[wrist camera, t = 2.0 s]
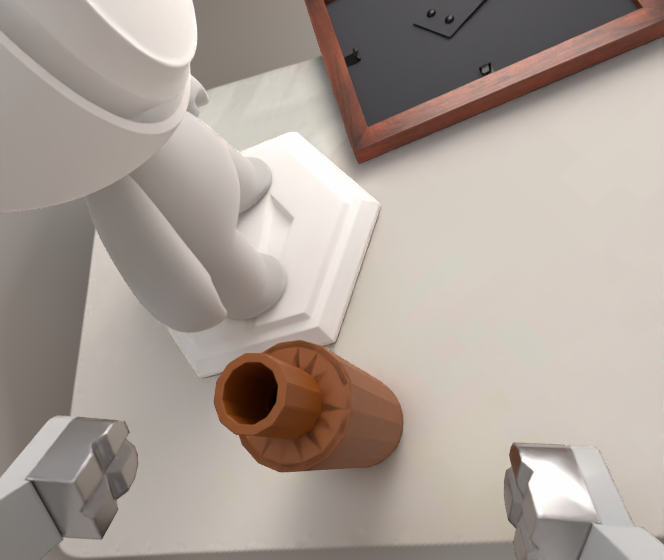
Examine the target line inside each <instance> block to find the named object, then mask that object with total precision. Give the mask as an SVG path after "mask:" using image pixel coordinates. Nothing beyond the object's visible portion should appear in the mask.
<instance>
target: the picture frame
mask: <svg viewBox="0 0 664 560" xmlns="http://www.w3.org/2000/svg"><path fill="white" fill-rule="evenodd" d="M305 4H306V6H307V9H308V13H309V16H310V19H311V22H312V25H313V28H314V32H315V35H316V38H317V41H318V44H319V47H320V50H321V53H322V56H323V60H324V63H325V66H326V69H327V72H328V75H329V78H330V81H331V85H332V88H333V91H334V94H335V97H336V100H337V103H338V106H339V109H340V113H341V116H342V119H343V122H344V125H345V128H346V131H347V134H348V138H349V141H350V144H351V147H352V150H353V153H354V155H355V157H356V159H357V161H358V163H359V164H360V163H362V162H364V161H367V160H369V159H371V158H374V157H376V156H379V155H381V154H383V153H386V152H388V151H391V150H393V149H395V148H398V147H400V146H402V145H405V144H407V143H410V142H412V141H414V140H417V139H419V138H421V137H424V136H426V135H429V134H431V133H433V132H436V131H438V130H441V129H443V128H445V127H448V126H450V125H452V124H455V123H457V122H460V121H462V120H464V119H467V118H469V117H472V116H474V115H476V114H479V113H481V112H483V111H486V110H488V109H491V108H493V107H495V106H498V105H500V104H503V103H505V102H507V101H510V100H512V99H514V98H517V97H519V96H522V95H524V94H526V93H529V92H531V91H533V90H536V89H538V88H541V87H543V86H545V85H548V84H550V83H553V82H555V81H557V80H560V79H562V78H564V77H567V76H569V75H572V74H574V73H576V72H579V71H581V70H584V69H586V68H588V67H591V66H593V65H595V64H598V63H600V62H603V61H605V60H607V59H610V58H612V57H615V56H617V55H619V54H622V53H624V52H626V51H629V50H631V49H634V48H636V47H638V46H641V45H643V44H645V43H648V42H650V41H653V40H655V39H657V38H660V37H662V36H664V0H305Z"/></svg>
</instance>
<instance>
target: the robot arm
mask: <svg viewBox="0 0 664 560" xmlns="http://www.w3.org/2000/svg"><path fill="white" fill-rule="evenodd" d="M128 434H129V429H128V427H127V425H126V423H125V421H119V420H109V419H97V418H86V417H71V416H55V417H53V418H51V419H50V420H48V421H47V423H46V424H45V425H44V426H43V427H42V429H41V430H40V431H39V432H38V433H37V434H36V436H35V437H34V438H33V439H32V441H31V442H30V443H29V444H28V445H27V446H26V448H25V449H24V450H23V451H22V452H21V454H20V455H19V456H18V457H17V459H16V460H15V461H14V462H13V463H12V464H11V466H10V467H9V468H8V469H7V470H6V472H5V473H4V474H3V475H2V476H1V478H0V560H41V559H42V558H43V557H44V556H45V555H46V554H47V553H48V552H50V551H51V550H52V549H53V548H54V547H55V546H57V545H58V544H59V543H60V542H61V541H62V540H63V538H62V537H66V538H82V539H99V540H102V538H103V536H104V535H105V533H106V531H107V529H108V527H109V525H110V524H111V522H112V520H113V518H114V516H115V515H116V513H117V511H118V506H117V499H118V498H119V497H121V496H122V495H123V494H125V493H126V492H127V491H129V489H130V487H131V485H132V483H133V481H134V479H135V476H136V472H137V468H138V454H137V451H136V448H135V446H134V445H133V444H131V443H130V442H129V441H128V440H127V439H126V437H127V436H128ZM509 457H510V461H511V465H512V466H511V467H510V468H509V469H507V470H506V473H505V479H504V500H505V508H506V513H507V517H508V520H509V522H510V523H511V524H512V525H513V526H514V527H515V528H516V531H515V535H514V540H513V545H514V550H515V554H516V558H517V560H664V544H662V543H661V542H660V541H659V540H658V539H657V538H655V537H654V536H653V535H652V534H651V533H650V532H649V531H647V530H646V529H645V528H642V527H635V525H634V523H633V521H632V519H631V517H630V515H629V512H628V510H627V508H626V506H625V504H624V502H623V500H622V497H621V495H620V493H619V491H618V489H617V487H616V485H615V482H614V480H613V478H612V476H611V474H610V472H609V469H608V467H607V465H606V463H605V461H604V459H603V457H602V454H601V452H600V451H599V450H598V449H597V448H596V447H589V446H571V445H568V446H566V445H558V444H536V443H513V445H512V446H511V449H510V454H509Z"/></svg>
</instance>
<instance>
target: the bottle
mask: <svg viewBox="0 0 664 560" xmlns="http://www.w3.org/2000/svg"><path fill="white" fill-rule="evenodd" d="M214 405H215V408H216V411H217V414H218V417H219V420H220V422H221V423H222V424H223V425H224V426H226V427H227V428H228V429H229V430H230V431H231V432H233V433H234V434H236V435H239V437H240V440H241V443H242V445H243V446H244V447H245V449H246V450H247V451H248V452H249V453H250V454H251V455H252V457H253V458H254V459H255V460H256V461H257V462H258V463H259V464H262V465H264V466H266V467H269V468H271V469H273V470H276V471H278V472H296V471H312V470H328V469H344V468H359V467H370V466H373V465H376V464H378V463H380V462H382V461H383V460H385V459H386V458H387V457H388V456H389V455H390V454H391V453H392V452H393V451H394V449H395V448H396V446H397V444H398V442H399V440H400V437H401V434H402V429H403V415H402V410H401V407H400V404H399V402H398V400H397V398H396V396H395V395H394V394H393V392H392V391H391V390H390V389H389V388H388V387H387V386H385V385H384V384H383V383H382V382H380V381H379V380H377V379H376V378H374V377H372V376H371V375H369V374H368V373H366V372H364V371H363V370H361V369H359V368H358V367H356V366H354V365H353V364H351V363H349V362H348V361H346V360H344V359H343V358H341V357H339V356H338V355H336V354H334V353H333V352H331V351H329V350H328V349H326V348H324V347H323V346H321V345H317V344H314V343H310V342H307V341H303V340H295V341H288V342H281V343H277V344H276V345H274V346H272V347H271V348H269V349H267V350H266V351H264V352H262V353H245V354H243V355H241V356H240V357H238V358H236V359H235V360H233V361H231V362H230V363H229V364H227V366H226V367H225V369H224V371H223V372H222V374H221V375H220V377H219V378H218V380H217V383H216V389H215V396H214Z"/></svg>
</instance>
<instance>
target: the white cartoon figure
mask: <svg viewBox="0 0 664 560" xmlns="http://www.w3.org/2000/svg"><path fill="white" fill-rule="evenodd" d="M196 46H197V25H196V17H195V11H194V6H193V2H192V0H0V213H5V212H17V211H26V210H33V209H39V208H44V207H49V206H53V205H57V204H61V203H65V202H68V201H72V200H75V199H78V198H81V197H83V196H85V197H86V202H87V206H88V210H89V213H90V215H91V218H92V221H93V223H94V225H95V228H96V230H97V232H98V234H99V236H100V238H101V240H102V242H103V244H104V246H105V248H106V250H107V252H108V254H109V255H110V257H111V259H112V260H113V262H114V264H115V266H116V267H117V269H118V270H119V272H120V274H121V275H122V277H123V278H124V280H125V281H126V283H127V285H128V286H129V287H130V289H131V290H132V292H133V293H134V295H135V296H136V297H137V299H138V300H139V301H140V302H141V304H142V305H143V306H144V307H145V308H146V309H147V310H148V311H149V312H150V313H151V314H152V315H153V316H154V317H155V318H156V319H158V320H159V321H160V322H162V323H163V324H164V325H165V327H166V328H167V330H168V332H169V333H170V335H171V336H172V338H173V339H174V341H175V342H176V344H177V345H178V347H179V348H180V350H181V351H182V353H183V354H184V356H185V358H186V359H187V361H188V362H189V364H190V365H191V367H192V368H193V370H194V371H195V373H196V374H197V376H198V377H201V378H205V377H209V376H212V375H216V374H220V373H222V372H223V371H224V369H225V367H226V366H227V364H229V363H230V362H231V361H233V360H235V359H236V358H238V357H240V356H241V355H243V354H245V353H262V352H264V351H266V350H267V349H269V348H271V347H272V346H274V345H276V344H277V343H281V342H288V341H295V340H303V341H307V342H310V343H314V344H317V345H321V346H324V345H328V344H332V343H335V342H336V340H337V337H338V334H339V331H340V328H341V325H342V322H343V319H344V316H345V313H346V310H347V307H348V304H349V301H350V298H351V295H352V292H353V289H354V286H355V283H356V280H357V277H358V274H359V271H360V268H361V265H362V262H363V259H364V256H365V253H366V250H367V247H368V244H369V241H370V238H371V235H372V232H373V229H374V226H375V223H376V220H377V217H378V214H379V211H380V207H381V206H380V204H379V202H378V201H377V200H375V199H374V198H373V197H372V196H371V195H370V194H368V193H367V192H366V191H365V190H364V189H363V188H361V187H360V186H359V185H358V184H357V183H356V182H354V181H353V180H352V179H351V178H350V177H349V176H347V175H346V174H345V173H344V172H343V171H342V170H340V169H339V168H338V167H337V166H336V165H334V164H333V163H332V162H331V161H330V160H329V159H327V158H326V157H325V156H324V155H323V154H322V153H320V152H319V151H318V150H317V149H316V148H315V147H313V146H312V145H311V144H310V143H309V142H308V141H306V140H305V139H304V138H303V137H302V136H301V135H299V134H298V133H297V132H290V133H286V134H283V135H280V136H278V137H275V138H273V139H270V140H267V141H265V142H262V143H260V144H257V145H255V146H252V147H250V148H247V149H244V150H242V151H239V152H238V151H237V150H236V149H235V148H234V147H232V146H231V145H230V144H229V143H228V142H226V141H225V140H224V139H223V138H222V137H221V136H219V135H218V134H217V133H216V132H215V131H214V130H212V129H211V128H210V127H209V126H208V125H206V124H205V123H204V122H202V121H201V120H200V119H198V118H197V117H198V115H199V109H198V108H200V107H202V106H204V105H206V104H207V103H208V102H209V98H208V95H207V93H206V91H205V89H204V88H203V86H202V85H201V84H200V83H199V82H198V81H197V80H196V79H195V78H194V77H193V76H192V75H191V74H190V62H191V60H192V58H193V57H194V54H195V50H196Z"/></svg>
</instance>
